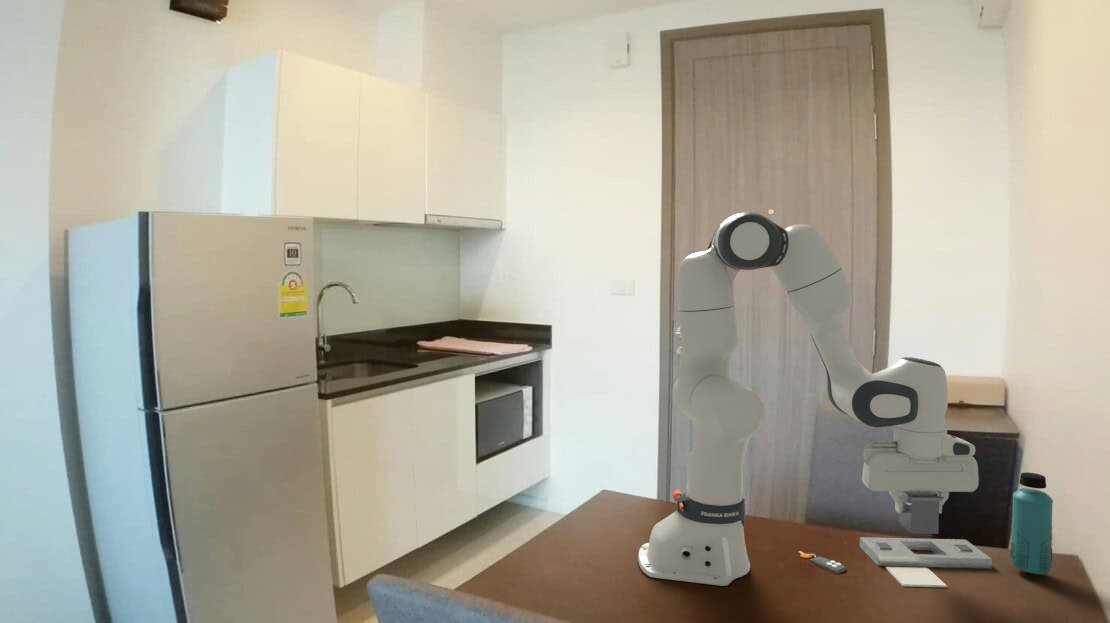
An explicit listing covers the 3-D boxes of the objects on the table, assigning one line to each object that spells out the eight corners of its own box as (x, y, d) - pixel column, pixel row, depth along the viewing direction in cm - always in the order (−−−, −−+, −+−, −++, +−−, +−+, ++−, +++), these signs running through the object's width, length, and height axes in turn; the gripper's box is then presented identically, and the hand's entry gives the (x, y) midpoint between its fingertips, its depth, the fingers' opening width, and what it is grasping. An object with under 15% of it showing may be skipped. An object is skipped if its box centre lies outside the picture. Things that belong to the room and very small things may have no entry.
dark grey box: (910, 533, 118) (911, 497, 117) (896, 522, 123) (897, 487, 123) (940, 534, 117) (940, 497, 117) (925, 522, 123) (925, 487, 122)
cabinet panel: (877, 565, 126) (878, 554, 126) (859, 546, 135) (859, 535, 135) (991, 568, 125) (991, 557, 124) (965, 548, 134) (965, 538, 133)
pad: (902, 586, 118) (902, 584, 118) (885, 568, 125) (885, 566, 125) (946, 587, 117) (946, 585, 117) (927, 569, 124) (927, 567, 124)
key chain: (848, 571, 125) (848, 564, 125) (837, 576, 123) (837, 569, 123) (792, 548, 136) (792, 541, 136) (781, 552, 134) (781, 545, 134)
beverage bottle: (1058, 583, 118) (1063, 480, 117) (1019, 580, 120) (1023, 478, 118) (1039, 567, 125) (1043, 470, 123) (1002, 565, 126) (1006, 468, 125)
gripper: (870, 446, 117) (869, 518, 118) (984, 446, 115) (982, 519, 116) (857, 437, 123) (856, 505, 124) (964, 437, 122) (963, 506, 123)
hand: (918, 512), depth 120 cm, fingers closed on dark grey box, 5 cm apart
